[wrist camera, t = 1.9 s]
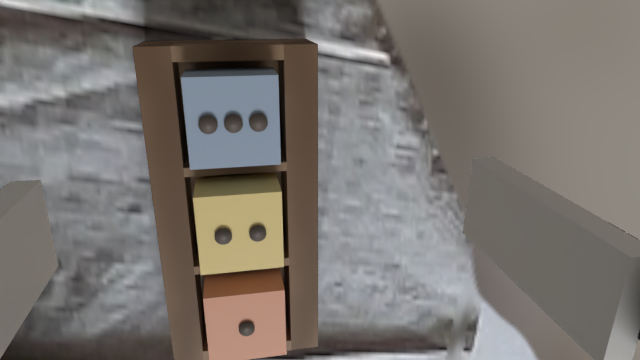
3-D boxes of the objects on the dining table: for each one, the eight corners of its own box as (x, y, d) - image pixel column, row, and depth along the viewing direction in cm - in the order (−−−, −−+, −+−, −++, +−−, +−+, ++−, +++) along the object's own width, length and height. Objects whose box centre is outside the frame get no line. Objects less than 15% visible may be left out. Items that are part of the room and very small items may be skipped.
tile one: (210, 331, 30) (209, 366, 27) (205, 270, 29) (203, 300, 26) (281, 323, 31) (286, 356, 28) (278, 263, 30) (284, 291, 27)
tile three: (193, 152, 26) (189, 171, 23) (185, 69, 25) (180, 78, 22) (274, 147, 27) (281, 165, 24) (272, 67, 25) (278, 75, 22)
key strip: (180, 326, 33) (174, 365, 29) (144, 41, 26) (132, 46, 23) (308, 311, 34) (318, 346, 31) (305, 38, 28) (317, 44, 24)
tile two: (202, 248, 28) (200, 276, 25) (195, 177, 27) (192, 199, 24) (278, 241, 29) (284, 268, 26) (275, 172, 27) (281, 192, 25)
